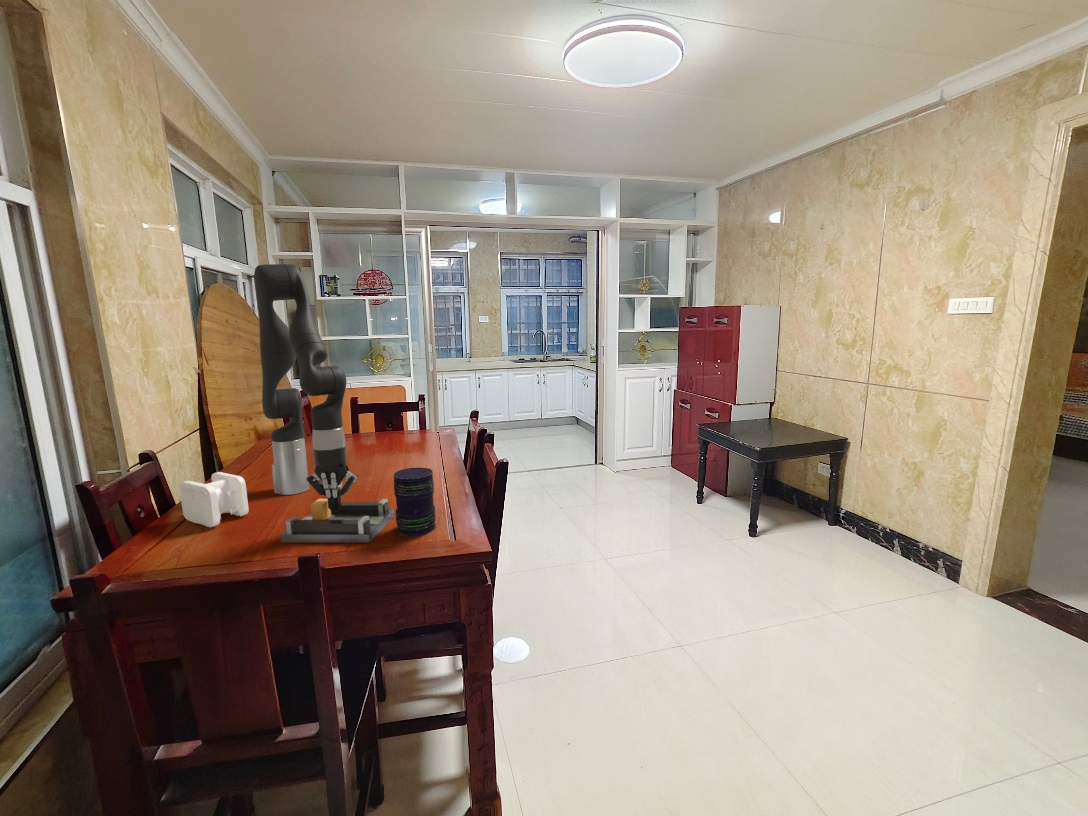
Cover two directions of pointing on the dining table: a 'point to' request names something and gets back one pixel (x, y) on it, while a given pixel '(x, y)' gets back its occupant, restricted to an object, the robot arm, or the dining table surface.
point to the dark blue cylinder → (414, 501)
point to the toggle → (321, 510)
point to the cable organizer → (214, 499)
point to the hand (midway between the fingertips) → (335, 510)
